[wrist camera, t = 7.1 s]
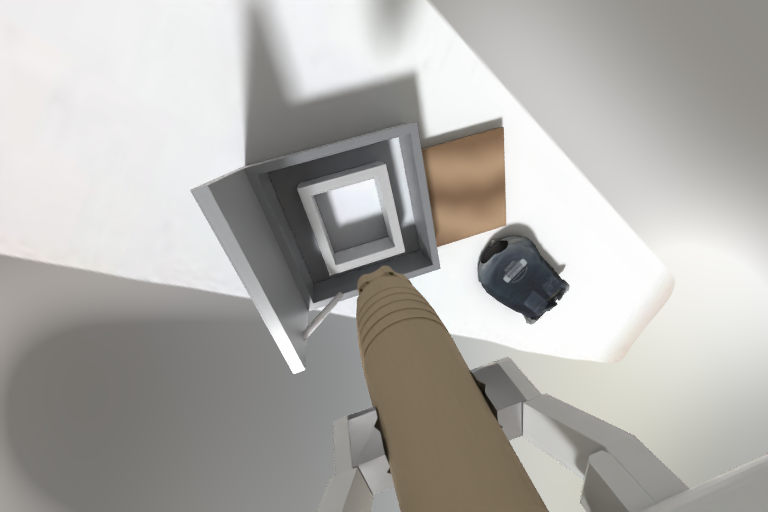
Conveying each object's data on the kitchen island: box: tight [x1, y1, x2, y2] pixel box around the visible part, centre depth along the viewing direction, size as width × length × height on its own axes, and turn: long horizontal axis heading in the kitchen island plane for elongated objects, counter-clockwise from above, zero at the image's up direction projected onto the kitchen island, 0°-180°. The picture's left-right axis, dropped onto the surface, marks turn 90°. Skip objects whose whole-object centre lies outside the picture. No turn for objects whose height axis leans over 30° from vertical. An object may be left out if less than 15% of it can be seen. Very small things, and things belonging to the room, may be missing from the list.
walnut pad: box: [421, 127, 506, 247], centre depth 33 cm, size 12×10×1 cm
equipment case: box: [190, 122, 440, 373], centre depth 26 cm, size 16×17×13 cm
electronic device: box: [478, 236, 569, 324], centre depth 40 cm, size 9×6×15 cm
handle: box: [356, 266, 549, 512], centre depth 10 cm, size 5×6×15 cm
